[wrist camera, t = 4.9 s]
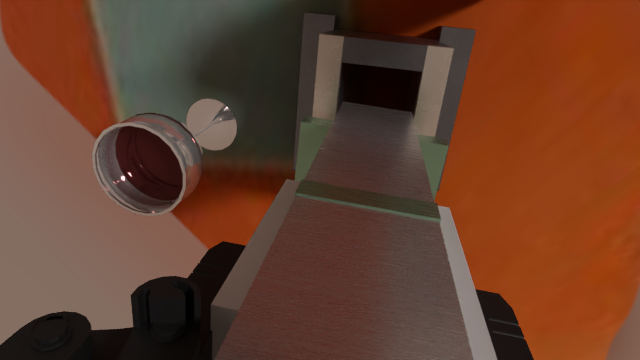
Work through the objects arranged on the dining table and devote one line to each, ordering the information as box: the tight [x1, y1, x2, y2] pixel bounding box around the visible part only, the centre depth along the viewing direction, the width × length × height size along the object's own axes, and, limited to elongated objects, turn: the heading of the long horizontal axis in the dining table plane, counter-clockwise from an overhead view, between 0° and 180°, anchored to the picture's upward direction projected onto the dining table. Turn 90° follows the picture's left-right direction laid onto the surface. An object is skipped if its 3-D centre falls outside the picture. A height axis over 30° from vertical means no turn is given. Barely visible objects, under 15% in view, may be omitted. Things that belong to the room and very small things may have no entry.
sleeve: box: [293, 12, 476, 191], centre depth 30 cm, size 13×13×9 cm
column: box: [214, 101, 474, 360], centre depth 15 cm, size 7×4×20 cm, turn 83°
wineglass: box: [92, 98, 237, 216], centre depth 32 cm, size 7×7×12 cm
